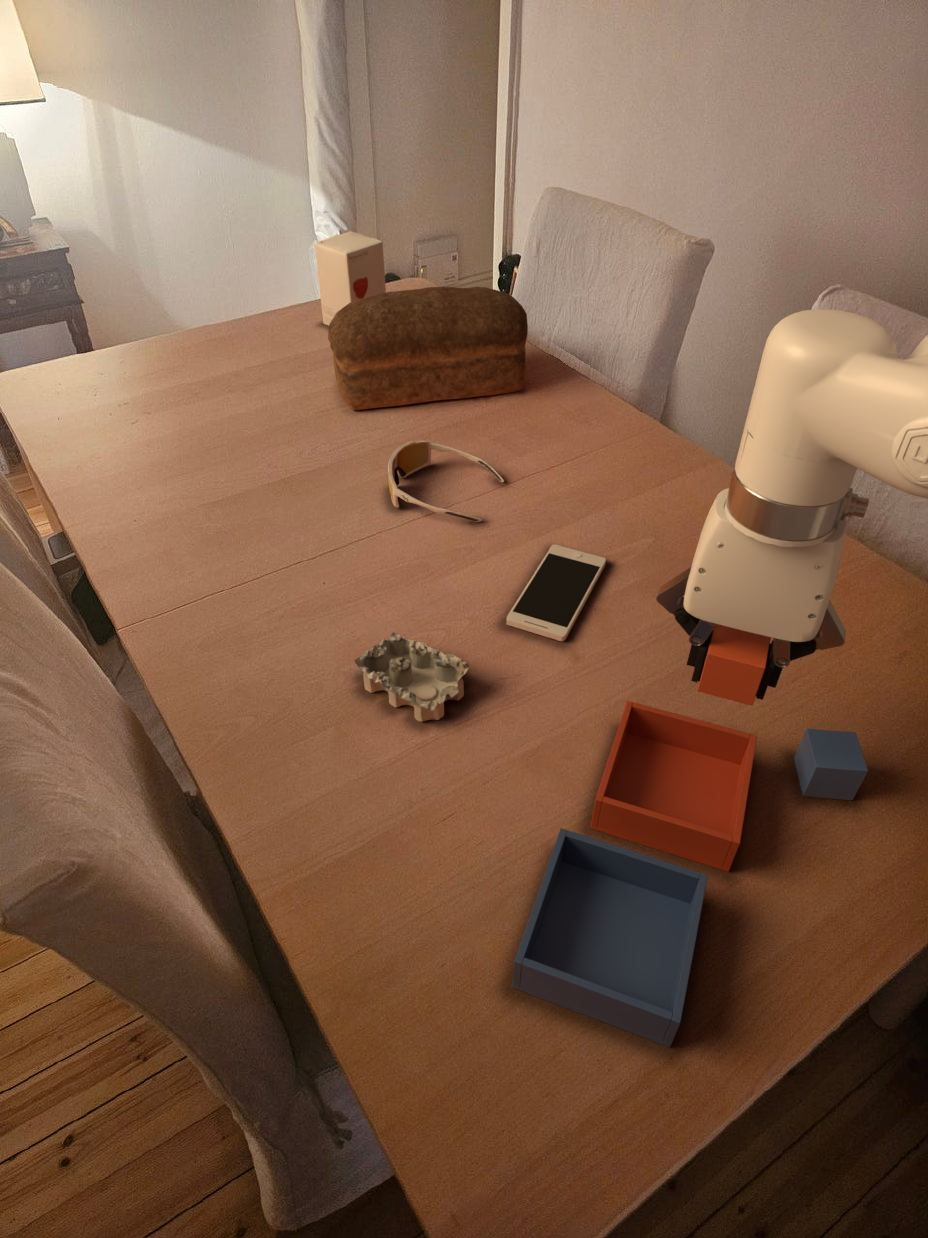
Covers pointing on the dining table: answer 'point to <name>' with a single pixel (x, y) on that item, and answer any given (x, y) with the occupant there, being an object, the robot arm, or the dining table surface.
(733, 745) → the terracotta bin
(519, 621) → the smartphone
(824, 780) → the blue block
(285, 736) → the dining table surface
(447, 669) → the egg carton
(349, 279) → the white product box
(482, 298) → the bread
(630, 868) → the blue bin
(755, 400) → the robot arm
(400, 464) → the sunglasses
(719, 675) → the terracotta block
